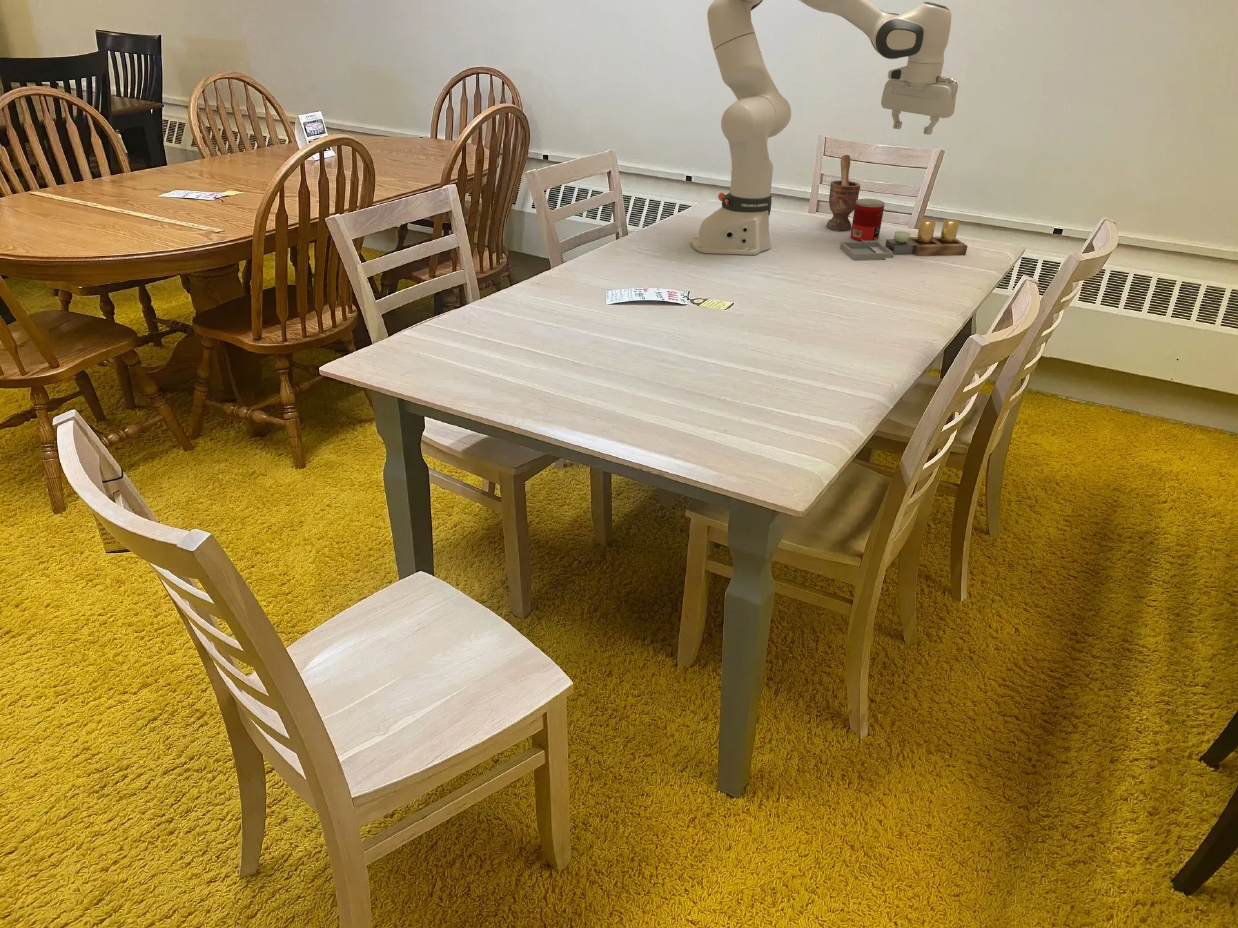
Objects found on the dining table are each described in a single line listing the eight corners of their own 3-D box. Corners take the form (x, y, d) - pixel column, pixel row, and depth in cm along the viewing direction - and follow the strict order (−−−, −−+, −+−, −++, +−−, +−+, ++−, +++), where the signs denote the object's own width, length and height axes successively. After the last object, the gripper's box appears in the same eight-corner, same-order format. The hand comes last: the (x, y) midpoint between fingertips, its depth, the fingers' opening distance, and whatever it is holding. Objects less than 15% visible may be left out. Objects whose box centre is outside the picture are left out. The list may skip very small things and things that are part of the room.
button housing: (892, 258, 227) (894, 245, 225) (884, 251, 232) (886, 239, 230) (913, 257, 227) (916, 245, 226) (904, 251, 232) (907, 239, 231)
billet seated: (941, 252, 228) (947, 223, 224) (935, 248, 232) (941, 219, 228) (955, 252, 229) (962, 223, 225) (948, 248, 232) (955, 219, 228)
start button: (895, 253, 227) (898, 235, 225) (889, 248, 230) (892, 231, 228) (909, 252, 227) (912, 235, 225) (903, 248, 231) (906, 231, 228)
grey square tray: (853, 262, 223) (854, 254, 222) (839, 250, 233) (840, 242, 232) (892, 261, 224) (894, 253, 223) (877, 249, 234) (878, 241, 233)
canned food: (878, 245, 238) (885, 205, 232) (850, 243, 239) (856, 204, 233) (877, 237, 244) (883, 199, 238) (849, 235, 245) (855, 197, 240)
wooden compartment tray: (915, 259, 226) (918, 246, 224) (902, 249, 234) (904, 237, 232) (964, 258, 227) (967, 245, 226) (949, 248, 235) (952, 236, 233)
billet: (919, 253, 228) (924, 223, 224) (912, 249, 231) (917, 220, 227) (932, 252, 228) (938, 223, 224) (925, 248, 232) (931, 219, 228)
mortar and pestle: (815, 222, 258) (824, 154, 247) (840, 220, 260) (850, 153, 249) (832, 232, 248) (842, 162, 238) (858, 230, 250) (869, 161, 240)
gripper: (966, 78, 209) (953, 136, 217) (897, 69, 223) (887, 124, 230) (952, 80, 206) (939, 139, 213) (883, 71, 219) (873, 126, 227)
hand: (911, 131), depth 222 cm, fingers open, 8 cm apart
